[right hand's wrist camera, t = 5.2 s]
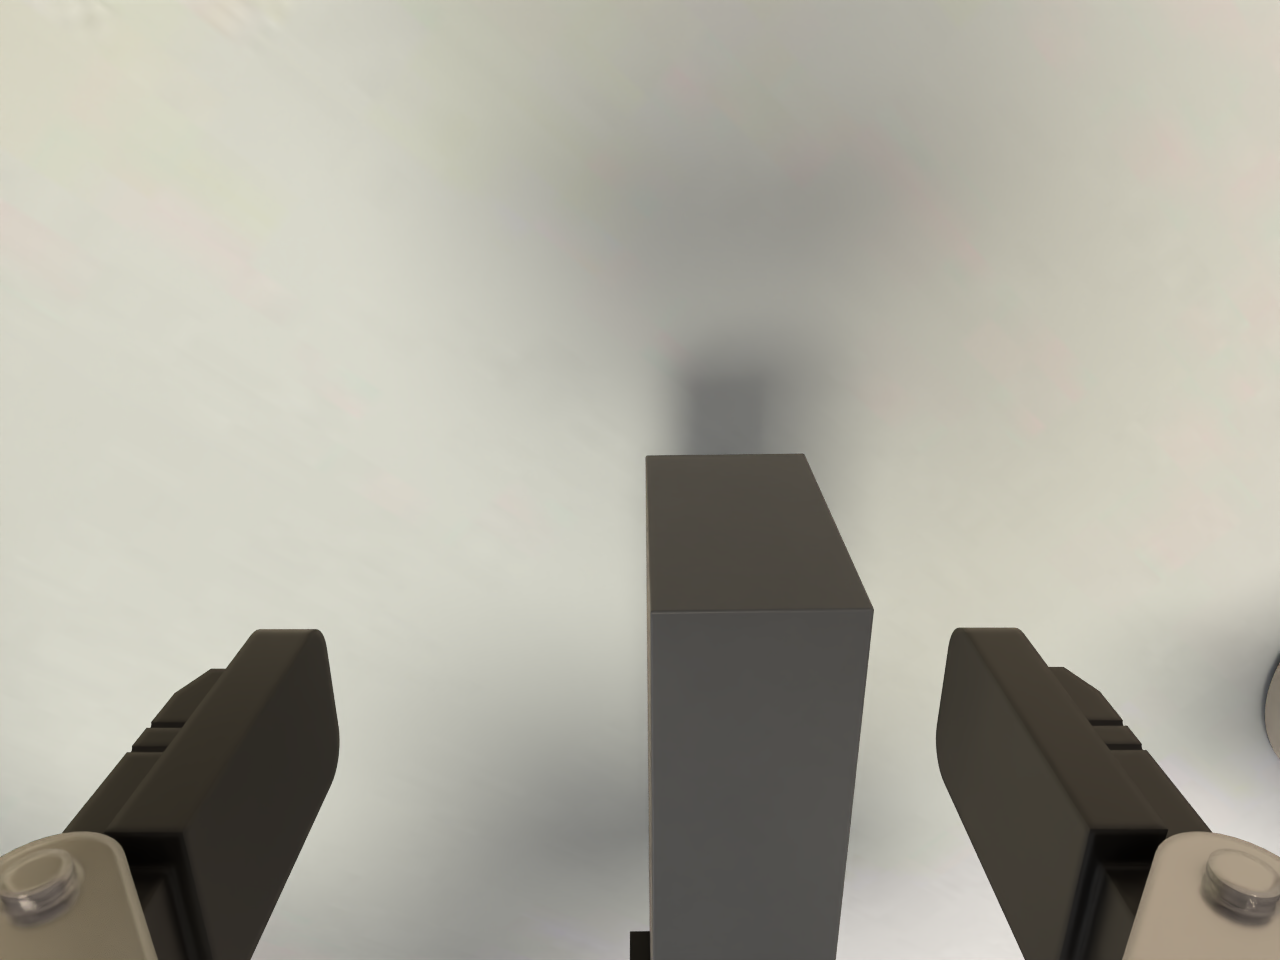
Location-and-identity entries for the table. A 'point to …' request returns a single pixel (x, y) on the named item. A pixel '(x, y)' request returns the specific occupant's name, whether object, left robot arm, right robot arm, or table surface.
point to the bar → (749, 708)
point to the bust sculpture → (1273, 712)
